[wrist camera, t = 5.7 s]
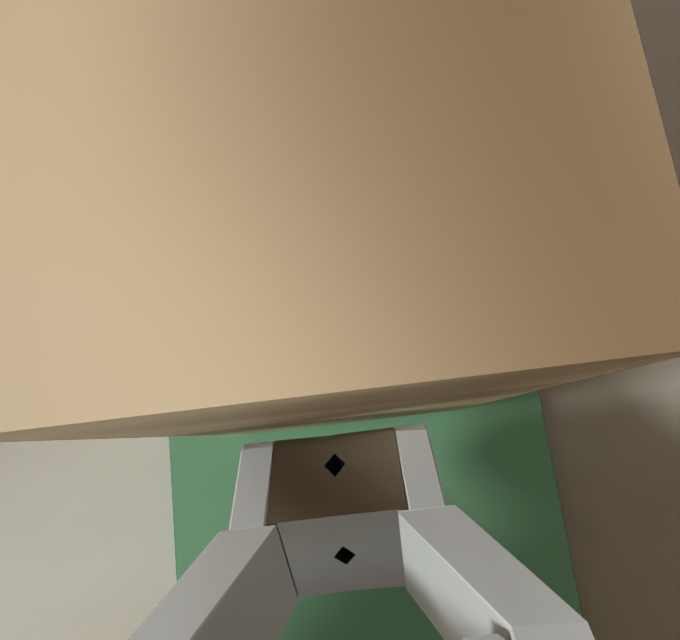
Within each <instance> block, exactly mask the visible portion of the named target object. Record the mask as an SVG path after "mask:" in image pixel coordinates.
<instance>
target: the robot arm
mask: <svg viewBox="0 0 680 640" xmlns="http://www.w3.org/2000/svg"><path fill="white" fill-rule="evenodd" d="M401 586H406V590H407V591H408V592H409V593H410V595H411V596H412V597H413V599H414V600H415V601H416V603H417V604H418V605H419V607H420V608H421V609H422V611H423V612H424V613H425V615H426V616H427V617H428V619H429V620H430V621H431V623H432V624H433V625H434V627H435V628H436V629H437V631H438V632H439V633H440V635H441V636H442V637H443V638H444V640H595V639H594V636H593V634H592V631H591V629H590V627H589V624H588V622H587V621H586V620H585V619H584V618H583V617H581V616H580V615H579V614H578V613H577V612H576V611H575V610H574V609H573V608H571V607H570V606H569V605H568V604H567V603H566V602H565V601H564V600H562V599H561V598H560V597H559V596H558V595H557V594H556V593H555V592H554V591H552V590H551V589H550V588H549V587H548V586H547V585H546V584H545V583H544V582H542V581H541V580H540V579H539V578H538V577H537V576H536V575H535V574H533V573H532V572H531V571H530V570H529V569H528V568H527V567H526V566H525V565H523V564H522V563H521V562H520V561H519V560H518V559H517V558H516V557H514V556H513V555H512V554H511V553H510V552H509V551H508V550H507V549H506V548H504V547H503V546H502V545H501V544H500V543H499V542H498V541H497V540H495V539H494V538H493V537H492V536H491V535H490V534H489V533H488V532H487V531H485V530H484V529H483V528H482V527H481V526H480V525H479V524H478V523H477V522H475V521H474V520H473V519H472V518H471V517H470V516H469V515H468V514H466V513H465V512H464V511H463V510H462V509H461V508H460V507H459V506H458V505H446V501H445V496H444V492H443V488H442V484H441V480H440V476H439V472H438V468H437V464H436V460H435V456H434V452H433V448H432V444H431V440H430V436H429V432H428V428H427V426H426V425H425V424H424V423H420V424H412V425H405V426H397V427H394V428H393V427H390V428H382V429H374V430H366V431H359V432H351V433H343V434H335V435H330V436H319V437H309V438H298V439H287V440H277V441H273V442H262V443H251V444H245V445H244V447H243V449H242V451H241V454H240V461H239V467H238V474H237V480H236V486H235V493H234V499H233V505H232V512H231V518H230V525H229V530H225V531H219V532H218V533H217V535H216V536H215V537H214V538H213V539H212V540H211V542H210V543H209V544H208V545H207V546H206V548H205V549H204V550H203V551H202V552H201V554H200V555H199V556H198V557H197V558H196V560H195V561H194V562H193V563H192V564H191V566H190V567H189V568H188V569H187V570H186V572H185V573H184V574H183V575H182V576H181V577H180V579H179V580H178V581H177V582H176V583H175V585H174V586H173V587H172V588H171V589H170V591H169V592H168V593H167V594H166V595H165V597H164V598H163V599H162V600H161V601H160V603H159V604H158V605H157V606H156V607H155V609H154V610H153V611H152V612H151V613H150V614H149V616H148V617H147V618H146V619H145V620H144V622H143V623H142V624H141V625H140V626H139V628H138V629H137V630H136V631H135V632H134V634H133V635H132V636H131V637H130V638H129V640H278V639H279V637H280V635H281V633H282V631H283V630H284V628H285V626H286V624H287V622H288V620H289V618H290V617H291V615H292V613H293V611H294V609H295V607H296V605H297V603H298V602H299V601H298V598H300V597H307V596H314V595H322V594H329V593H336V592H344V591H351V590H363V589H376V588H388V587H401Z"/></svg>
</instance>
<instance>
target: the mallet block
mask: <svg viewBox="0 0 680 640" xmlns="http://www.w3.org/2000/svg"><path fill="white" fill-rule="evenodd" d="M679 356H680V187H679V183H678V179H677V175H676V171H675V168H674V164H673V160H672V156H671V152H670V149H669V145H668V141H667V137H666V134H665V130H664V126H663V122H662V118H661V115H660V111H659V107H658V103H657V99H656V96H655V92H654V88H653V84H652V80H651V77H650V73H649V69H648V65H647V61H646V58H645V54H644V50H643V46H642V42H641V39H640V35H639V31H638V27H637V23H636V20H635V16H634V12H633V8H632V4H631V1H630V0H0V442H13V441H45V440H76V439H108V438H139V437H170V436H202V435H233V434H256V433H264V432H273V431H281V430H290V429H298V428H307V427H315V426H324V425H332V424H341V423H349V422H358V421H367V420H375V419H384V418H392V417H401V416H409V415H418V414H426V413H435V412H443V411H452V410H459V409H463V408H468V407H472V406H476V405H480V404H484V403H488V402H492V401H497V400H501V399H505V398H509V397H513V396H517V395H522V394H526V393H530V392H534V391H538V390H542V389H546V388H551V387H555V386H559V385H563V384H567V383H571V382H575V381H580V380H584V379H588V378H592V377H596V376H600V375H605V374H609V373H613V372H617V371H621V370H625V369H629V368H634V367H638V366H642V365H646V364H650V363H654V362H658V361H663V360H667V359H671V358H675V357H679Z"/></svg>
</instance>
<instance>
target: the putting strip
mask: <svg viewBox="0 0 680 640" xmlns="http://www.w3.org/2000/svg"><path fill="white" fill-rule="evenodd" d="M420 423H424V424H425V425H426V426H427V428H428V432H429V436H430V440H431V444H432V448H433V452H434V456H435V460H436V464H437V468H438V472H439V476H440V480H441V484H442V488H443V492H444V496H445V501H446V505H458V506H459V507H460V508H461V509H462V510H463V511H464V512H465V513H466V514H468V515H469V516H470V517H471V518H472V519H473V520H474V521H475V522H477V523H478V524H479V525H480V526H481V527H482V528H483V529H484V530H485V531H487V532H488V533H489V534H490V535H491V536H492V537H493V538H494V539H495V540H497V541H498V542H499V543H500V544H501V545H502V546H503V547H504V548H506V549H507V550H508V551H509V552H510V553H511V554H512V555H513V556H514V557H516V558H517V559H518V560H519V561H520V562H521V563H522V564H523V565H525V566H526V567H527V568H528V569H529V570H530V571H531V572H532V573H533V574H535V575H536V576H537V577H538V578H539V579H540V580H541V581H542V582H544V583H545V584H546V585H547V586H548V587H549V588H550V589H551V590H552V591H554V592H555V593H556V594H557V595H558V596H559V597H560V598H561V599H562V600H564V601H565V602H566V603H567V604H568V605H569V606H570V607H571V608H573V609H574V610H575V611H576V612H577V613H578V614H579V615H580V616H581V617H582V612H581V607H580V602H579V597H578V592H577V587H576V581H575V576H574V571H573V566H572V561H571V556H570V551H569V546H568V541H567V535H566V530H565V525H564V520H563V515H562V510H561V505H560V500H559V495H558V489H557V484H556V479H555V474H554V469H553V464H552V459H551V454H550V449H549V443H548V438H547V433H546V428H545V423H544V418H543V413H542V408H541V403H540V397H539V392H538V391H534V392H530V393H526V394H522V395H517V396H513V397H509V398H505V399H501V400H497V401H492V402H488V403H484V404H480V405H476V406H472V407H468V408H463V409H459V410H452V411H443V412H435V413H426V414H418V415H409V416H401V417H392V418H384V419H375V420H367V421H358V422H349V423H341V424H332V425H324V426H315V427H307V428H298V429H290V430H281V431H273V432H264V433H256V434H233V435H202V436H170V437H169V442H170V461H171V480H172V500H173V519H174V538H175V557H176V576H177V581H178V580H179V579H180V577H181V576H182V575H183V574H184V573H185V572H186V570H187V569H188V568H189V567H190V566H191V564H192V563H193V562H194V561H195V560H196V558H197V557H198V556H199V555H200V554H201V552H202V551H203V550H204V549H205V548H206V546H207V545H208V544H209V543H210V542H211V540H212V539H213V538H214V537H215V536H216V535H217V533H218V532H219V531H225V530H229V525H230V518H231V512H232V505H233V499H234V493H235V486H236V480H237V474H238V467H239V461H240V454H241V451H242V449H243V447H244V445H245V444H251V443H262V442H273V441H277V440H287V439H298V438H309V437H319V436H330V435H335V434H343V433H351V432H359V431H366V430H374V429H382V428H390V427H393V428H394V427H397V426H405V425H412V424H420ZM298 601H299V602H298V603H297V605H296V607H295V609H294V611H293V613H292V615H291V617H290V618H289V620H288V622H287V624H286V626H285V628H284V630H283V631H282V633H281V635H280V637H279V639H278V640H444V638H443V637H442V636H441V635H440V633H439V632H438V631H437V629H436V628H435V627H434V625H433V624H432V623H431V621H430V620H429V619H428V617H427V616H426V615H425V613H424V612H423V611H422V609H421V608H420V607H419V605H418V604H417V603H416V601H415V600H414V599H413V597H412V596H411V595H410V593H409V592H408V591H407V590H406V586H401V587H388V588H376V589H363V590H351V591H344V592H336V593H329V594H322V595H314V596H307V597H300V598H298Z"/></svg>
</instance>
